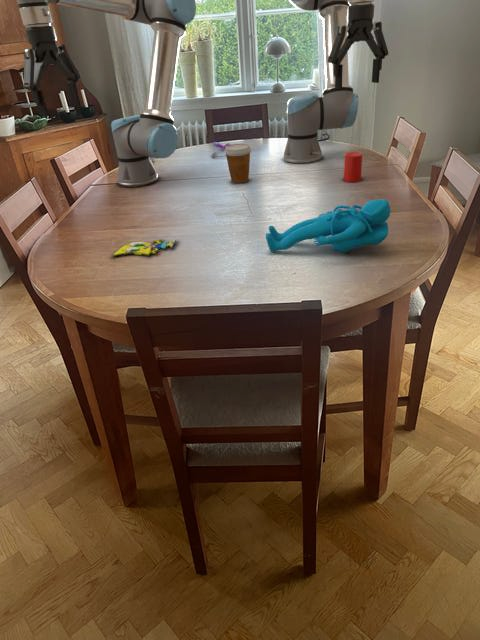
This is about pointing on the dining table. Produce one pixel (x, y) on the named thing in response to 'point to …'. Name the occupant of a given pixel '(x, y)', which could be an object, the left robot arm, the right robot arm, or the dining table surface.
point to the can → (352, 166)
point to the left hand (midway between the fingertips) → (61, 111)
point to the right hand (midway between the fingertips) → (357, 85)
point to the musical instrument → (220, 148)
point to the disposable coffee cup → (238, 162)
